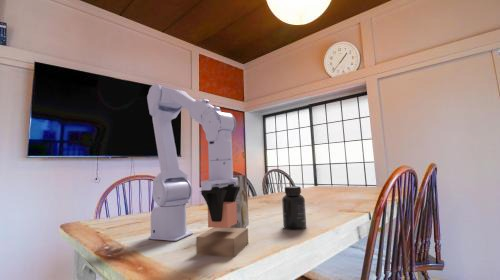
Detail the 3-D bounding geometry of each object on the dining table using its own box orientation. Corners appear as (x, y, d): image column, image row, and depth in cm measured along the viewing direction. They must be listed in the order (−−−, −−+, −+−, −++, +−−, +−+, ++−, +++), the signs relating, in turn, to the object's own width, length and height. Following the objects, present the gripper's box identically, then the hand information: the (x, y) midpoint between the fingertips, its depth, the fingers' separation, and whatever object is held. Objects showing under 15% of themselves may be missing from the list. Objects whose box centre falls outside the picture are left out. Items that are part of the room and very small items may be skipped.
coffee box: (230, 223, 83) (228, 175, 85) (249, 223, 82) (247, 174, 84) (222, 230, 74) (220, 176, 76) (242, 230, 73) (240, 175, 75)
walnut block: (196, 255, 54) (196, 236, 55) (214, 243, 63) (214, 227, 63) (234, 258, 52) (234, 238, 52) (248, 245, 60) (247, 228, 61)
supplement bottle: (278, 228, 74) (276, 187, 76) (292, 223, 79) (290, 185, 80) (297, 231, 70) (294, 188, 71) (311, 226, 74) (308, 186, 75)
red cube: (208, 227, 57) (207, 204, 57) (218, 222, 61) (218, 201, 62) (227, 228, 55) (227, 204, 55) (237, 223, 59) (236, 201, 60)
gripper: (220, 159, 52) (223, 226, 50) (247, 160, 65) (249, 213, 63) (192, 161, 54) (193, 225, 53) (223, 161, 68) (225, 212, 66)
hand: (222, 218), depth 58 cm, fingers closed on red cube, 5 cm apart
